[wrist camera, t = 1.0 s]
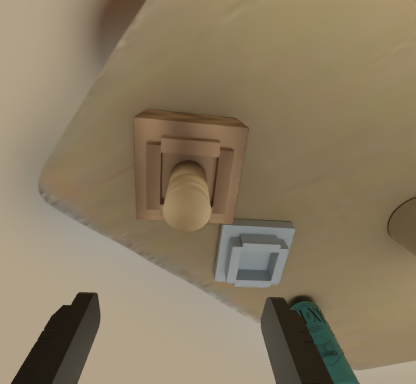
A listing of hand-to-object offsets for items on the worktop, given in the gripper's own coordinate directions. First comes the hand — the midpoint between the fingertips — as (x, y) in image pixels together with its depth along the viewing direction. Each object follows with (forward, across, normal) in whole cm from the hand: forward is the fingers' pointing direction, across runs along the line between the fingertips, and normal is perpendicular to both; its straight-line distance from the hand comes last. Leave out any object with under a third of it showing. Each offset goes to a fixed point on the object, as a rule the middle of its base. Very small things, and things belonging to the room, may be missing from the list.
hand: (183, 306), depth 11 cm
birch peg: (+17, 0, 0) cm, 17 cm away
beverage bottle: (+25, -25, +30) cm, 46 cm away
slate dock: (+25, -12, +16) cm, 32 cm away
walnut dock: (+25, 0, 0) cm, 25 cm away
